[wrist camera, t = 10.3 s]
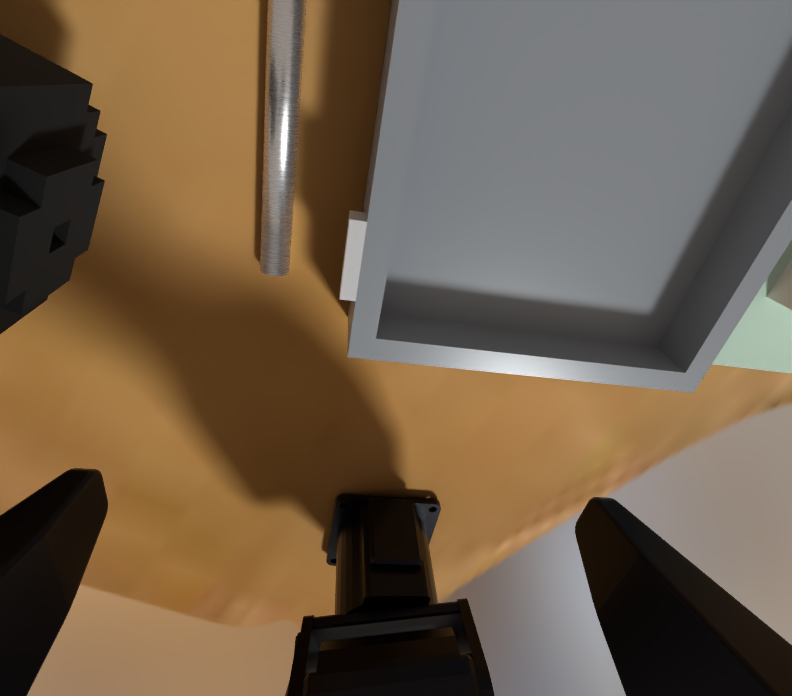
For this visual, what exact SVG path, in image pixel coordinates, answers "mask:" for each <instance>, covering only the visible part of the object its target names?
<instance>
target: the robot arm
mask: <svg viewBox="0 0 792 696" xmlns="http://www.w3.org/2000/svg"><path fill="white" fill-rule="evenodd" d="M344 502H345V503H344ZM107 510H108V500H107V495H106V491H105V486H104V482H103V477H102V474H101V472H100V471H99V470H96V469H82V468H74V469H70V470H68V471H66V472H64V473H63V474H61V475H60V476H58V477H57V478H55V479H54V480H52V481H51V482H49V483H48V484H47V485H45V486H44V487H42V488H41V489H39V490H38V491H36V492H35V493H33V494H32V495H30V496H29V497H27V498H26V499H24V500H23V501H21V502H20V503H18V504H17V505H15V506H14V507H12V508H11V509H9V510H8V511H6V512H5V513H3V514H2V515H0V696H27V694H28V692H29V690H30V688H31V686H32V684H33V682H34V680H35V678H36V676H37V674H38V672H39V670H40V668H41V666H42V664H43V662H44V660H45V659H46V656H47V655H48V652H49V651H50V649H51V647H52V645H53V643H54V641H55V638H56V637H57V635H58V632H59V631H60V629H61V627H62V625H63V623H64V621H65V619H66V616H67V614H68V612H69V610H70V608H71V605H72V603H73V600H74V598H75V596H76V593H77V590H78V588H79V585H80V583H81V580H82V578H83V575H84V572H85V570H86V567H87V564H88V562H89V559H90V557H91V554H92V551H93V549H94V546H95V544H96V541H97V538H98V536H99V533H100V530H101V528H102V525H103V523H104V520H105V517H106V514H107ZM440 510H441V507H440V502H439V501H438V500H436V499H426V498H407V497H387V496H368V495H349V494H343V495H339V496H338V497H337V498H336V501H335V507H334V514H333V520H332V526H331V533H330V539H329V545H328V551H327V563H328V564H329V565H333V566H336V593H335V615H329V616H320V617H314V615H312V616H304V617H303V622H302V628H301V632H299V633H298V635H297V636H296V640H295V650H294V651H295V652H294V659H293V664H292V670H291V676H290V681H289V684H288V688H287V691H286V694H285V696H494V691H493V687H492V683H491V678H490V674H489V670H488V667H487V663H486V660H485V657H484V653H483V650H482V647H481V643H480V640H479V637H478V634H477V630H476V627H475V623H474V620H473V617H472V613H471V610H470V607H469V604H468V600H467V598H466V599H457V601H456V602H447V603H438V600H437V594H436V588H435V582H434V576H433V570H432V563H431V557H430V551H429V542H430V540H431V537H432V534H433V531H434V528H435V525H436V522H437V519H438V516H439V513H440ZM575 534H576V538H577V542H578V546H579V550H580V554H581V557H582V561H583V565H584V569H585V572H586V577H587V580H588V584H589V588H590V592H591V595H592V599H593V603H594V606H595V609H596V613H597V616H598V619H599V621H600V625H601V627H602V630H603V633H604V636H605V639H606V641H607V644H608V647H609V649H610V652H611V655H612V658H613V661H614V663H615V666H616V669H617V672H618V674H619V677H620V680H621V683H622V685H623V688H624V691H625V694H626V696H792V645H791V644H790V643H788V642H787V641H786V640H785V639H783V638H782V637H781V636H780V635H779V634H777V633H776V632H775V631H774V630H773V629H771V628H770V627H769V626H768V625H767V624H765V623H764V622H763V621H761V620H760V619H759V618H758V617H757V616H756V615H754V614H753V613H752V612H751V611H750V610H748V609H747V608H746V607H745V606H743V605H742V604H741V603H740V602H739V601H737V600H736V599H735V598H734V597H733V596H731V595H730V594H729V593H728V592H726V591H725V590H724V589H723V588H722V587H720V586H719V585H718V584H717V583H716V582H714V581H713V580H712V579H711V578H709V577H708V576H707V575H706V574H705V573H703V572H702V571H701V570H700V569H699V568H697V567H696V566H695V565H694V564H692V563H691V562H690V561H689V560H688V559H686V558H685V557H684V556H683V555H681V554H680V553H679V552H678V551H677V550H675V549H674V548H673V547H672V546H670V545H669V544H668V543H667V542H666V541H665V540H663V539H662V538H661V537H660V536H658V535H657V534H656V533H655V532H654V531H652V530H651V529H650V528H649V527H648V526H646V525H645V524H644V523H643V522H642V521H640V520H639V519H638V518H637V517H635V516H634V515H633V514H632V513H631V512H629V511H628V510H627V509H626V508H625V507H623V506H622V505H621V504H620V503H618V502H617V501H616V500H614V499H612V498H603V497H593V498H592V499H590V500H589V502H588V503H587V505H586V507H585V508H584V510H583V512H582V514H581V515H580V517H579V519H578V521H577V522H576V526H575Z"/></svg>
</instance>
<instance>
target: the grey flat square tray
mask: <svg viewBox="0 0 792 696" xmlns="http://www.w3.org/2000/svg"><path fill="white" fill-rule="evenodd" d="M791 240H792V0H392V3H391V10H390V17H389V24H388V32H387V39H386V46H385V53H384V61H383V68H382V75H381V82H380V90H379V97H378V104H377V111H376V119H375V126H374V133H373V140H372V148H371V155H370V162H369V169H368V177H367V184H366V191H365V198H364V206H363V212H358V211H352V210H350V211H349V219H348V227H347V235H346V243H345V252H344V260H343V268H342V276H341V284H340V299H341V300H349V301H350V307H349V314H348V357H350V358H360V359H370V360H380V361H389V362H399V363H409V364H419V365H428V366H438V367H448V368H458V369H467V370H477V371H487V372H497V373H506V374H516V375H526V376H536V377H545V378H555V379H565V380H575V381H584V382H594V383H604V384H614V385H623V386H633V387H643V388H653V389H662V390H672V391H682V392H692V393H694V391H695V390H696V388H697V387H698V385H699V384H700V382H701V380H702V379H703V377H704V376H705V374H706V373H707V371H708V370H709V368H710V366H711V365H712V363H713V362H714V360H715V359H716V357H717V355H718V354H719V352H720V351H721V349H722V348H723V346H724V345H725V343H726V341H727V340H728V338H729V337H730V335H731V334H732V332H733V331H734V329H735V327H736V326H737V324H738V323H739V321H740V320H741V318H742V317H743V315H744V313H745V312H746V310H747V309H748V307H749V306H750V304H751V303H752V301H753V299H754V298H755V296H756V295H757V293H758V292H759V290H760V289H761V287H762V285H763V284H764V282H765V281H766V279H767V278H768V276H769V274H770V273H771V271H772V270H773V268H774V267H775V265H776V264H777V262H778V260H779V259H780V257H781V256H782V254H783V253H784V251H785V250H786V248H787V246H788V245H789V243H790V242H791Z"/></svg>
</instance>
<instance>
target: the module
mask: <svg viewBox="0 0 792 696" xmlns="http://www.w3.org/2000/svg"><path fill="white" fill-rule="evenodd" d="M766 297H768V298H770V299H772V300H774V301H775V302H777V303H779V304H781V305H783V306H785V307H787V308H789V309H790V310H792V258H791V260H790V261H789V263H788V265H787V266H786V268H785V269H784V271H783V272H782V274H781V275H780V277H779V278H778V280H777V281H776V283H775V284H774V286H773V287H772V289H771V290H770V292H769V293H768V295H767V296H766Z"/></svg>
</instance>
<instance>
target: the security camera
mask: <svg viewBox="0 0 792 696" xmlns="http://www.w3.org/2000/svg"><path fill="white" fill-rule="evenodd" d="M92 85H93V84H92V83H91V82H89V81H87V80H85V79H83V78H81V77H79V76H77V75H76V74H74V73H72V72H70V71H68V70H66V69H64V68H62V67H61V66H59V65H57V64H55V63H53V62H51V61H49V60H47V59H46V58H44V57H42V56H40V55H38V54H36V53H34V52H32V51H31V50H29V49H27V48H25V47H23V46H21V45H19V44H18V43H16V42H14V41H12V40H10V39H8V38H6V37H4V36H3V35H1V34H0V334H1V333H2V332H4V331H5V330H7V329H8V328H9V327H11V326H12V325H13V324H15V323H16V322H17V321H19V320H20V319H21V318H23V317H24V316H25V315H27V314H28V313H30V312H31V311H32V310H34V309H35V308H36V307H38V306H39V305H40V304H42V303H43V302H44V301H46V300H47V297H48V295H50V294H51V293H52V292H54V291H55V290H57V289H58V288H59V287H61V286H62V285H63V284H65V283H66V282H68V281H69V280H70V276H71V272H72V268H73V263H74V259H75V258H76V257H77V256H79V255H80V254H82V253H83V252H85V251H87V250H88V247H89V243H90V239H91V235H92V231H93V227H94V222H95V218H96V214H97V210H98V206H99V202H100V198H101V194H102V190H103V186H104V182H105V181H104V180H102V179H100V178H98V177H97V174H98V170H99V166H100V162H101V157H102V153H103V149H104V145H105V141H106V136H107V134H106V133H104V132H102V131H100V130H98V129H97V124H98V120H99V115H100V110H98V109H96V108H94V107H92V106H90V105H88V104H89V99H90V95H91V90H92Z"/></svg>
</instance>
